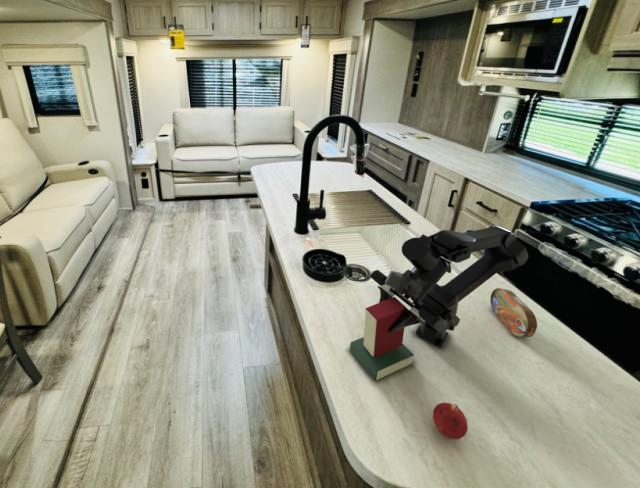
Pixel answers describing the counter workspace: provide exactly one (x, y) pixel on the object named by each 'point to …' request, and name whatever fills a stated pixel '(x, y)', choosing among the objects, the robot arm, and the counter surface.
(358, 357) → the hardcover
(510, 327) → the tin
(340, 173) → the counter surface
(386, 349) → the paperback
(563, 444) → the counter surface
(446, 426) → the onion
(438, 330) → the robot arm
